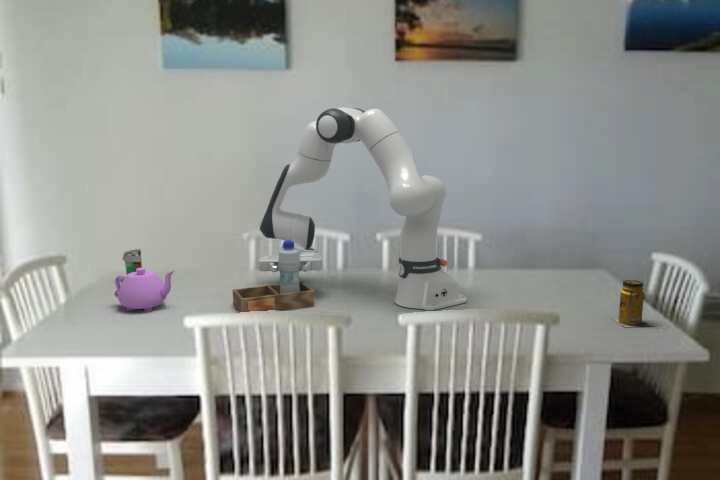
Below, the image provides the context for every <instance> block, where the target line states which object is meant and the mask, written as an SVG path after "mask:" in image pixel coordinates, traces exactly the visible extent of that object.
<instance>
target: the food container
mask: <svg viewBox="0 0 720 480" xmlns="http://www.w3.org/2000/svg"><path fill="white" fill-rule="evenodd" d="M121 260H122V261H124V266H125V271H126V275H128V274H129V273H132V272H136V269H137V268H143V263H142V262H143V261H142V249H141V248H136V249H130V250H126V251H125V252H123V255H122V259H121Z"/></svg>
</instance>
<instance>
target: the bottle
mask: <svg viewBox="0 0 720 480" xmlns="http://www.w3.org/2000/svg"><path fill="white" fill-rule="evenodd" d="M282 245H283V248H284V249H282V250H281V251H280V250H279V252H278V255H279V259H278V263H279V267H280V271H279V284H280V294H284V293H293V292H300V286H299V282H300V271H299V266H300V257H299V251H298V250H296V249H294V242H293V241H285V240H284V241H283V243H282Z"/></svg>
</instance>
